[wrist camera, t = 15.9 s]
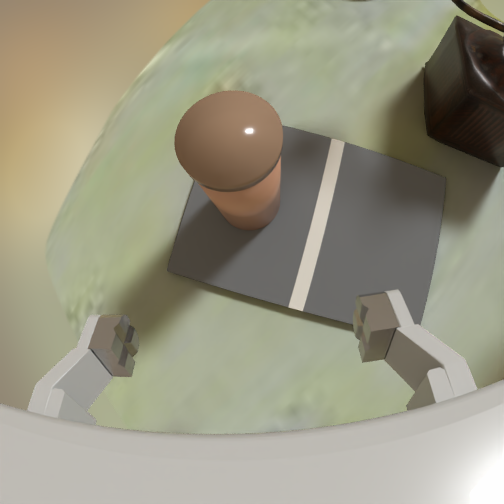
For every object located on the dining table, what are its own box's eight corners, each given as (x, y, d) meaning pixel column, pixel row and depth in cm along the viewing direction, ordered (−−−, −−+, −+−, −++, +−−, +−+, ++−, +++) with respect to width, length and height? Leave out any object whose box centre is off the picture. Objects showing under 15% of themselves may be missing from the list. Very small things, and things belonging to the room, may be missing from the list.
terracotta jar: (288, 179, 26) (294, 101, 14) (271, 239, 26) (265, 198, 14) (229, 164, 27) (196, 84, 15) (210, 222, 26) (159, 172, 14)
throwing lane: (443, 180, 26) (446, 178, 25) (413, 338, 25) (416, 339, 24) (220, 115, 28) (219, 112, 27) (168, 271, 27) (166, 270, 26)
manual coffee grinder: (493, 92, 27) (570, 11, 9) (502, 170, 26) (613, 101, 8) (382, 46, 28) (427, -77, 10) (378, 122, 27) (454, -18, 9)
